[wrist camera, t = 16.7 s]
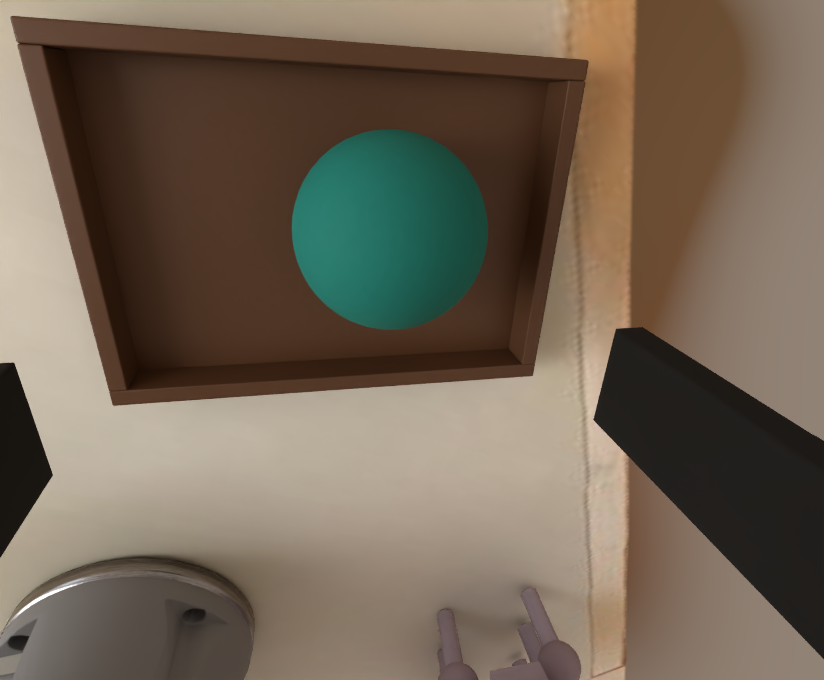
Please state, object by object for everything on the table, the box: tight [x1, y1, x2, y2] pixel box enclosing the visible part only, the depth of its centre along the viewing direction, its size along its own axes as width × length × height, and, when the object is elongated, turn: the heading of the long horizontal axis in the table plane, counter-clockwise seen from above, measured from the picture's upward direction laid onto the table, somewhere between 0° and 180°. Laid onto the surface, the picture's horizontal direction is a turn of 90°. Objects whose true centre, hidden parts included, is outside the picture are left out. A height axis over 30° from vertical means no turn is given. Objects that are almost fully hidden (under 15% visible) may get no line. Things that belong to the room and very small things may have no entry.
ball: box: [292, 129, 488, 330], centre depth 20 cm, size 8×8×8 cm
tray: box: [11, 16, 589, 406], centre depth 23 cm, size 16×22×3 cm
